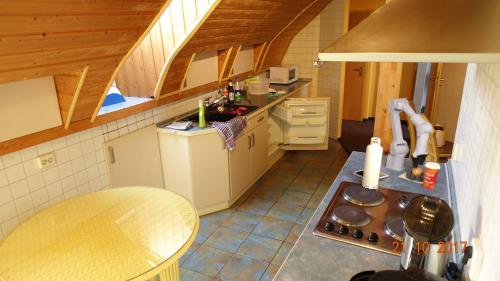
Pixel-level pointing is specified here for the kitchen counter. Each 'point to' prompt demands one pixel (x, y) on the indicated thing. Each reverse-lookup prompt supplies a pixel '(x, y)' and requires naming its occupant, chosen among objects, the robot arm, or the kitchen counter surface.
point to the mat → (406, 178)
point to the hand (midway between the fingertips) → (417, 166)
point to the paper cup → (430, 175)
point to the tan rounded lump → (417, 171)
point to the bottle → (372, 164)
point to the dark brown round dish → (414, 176)
